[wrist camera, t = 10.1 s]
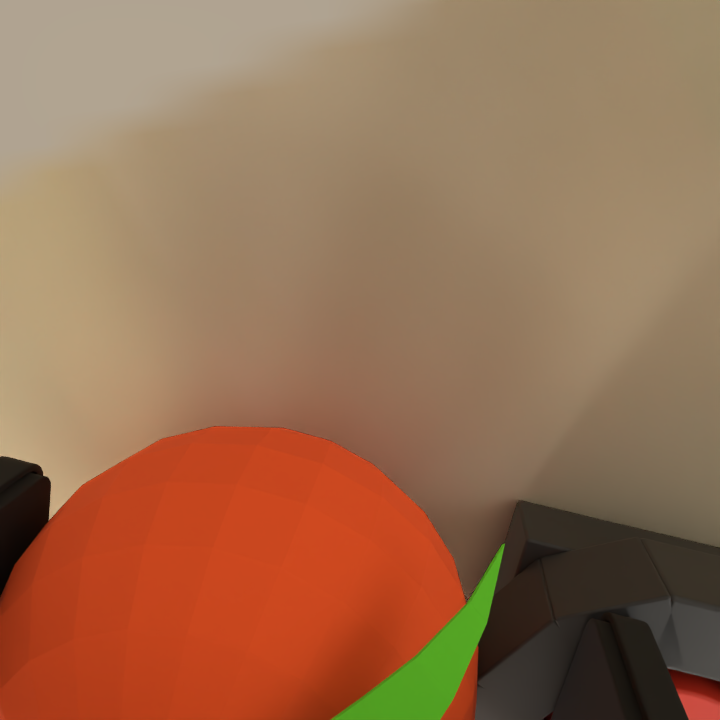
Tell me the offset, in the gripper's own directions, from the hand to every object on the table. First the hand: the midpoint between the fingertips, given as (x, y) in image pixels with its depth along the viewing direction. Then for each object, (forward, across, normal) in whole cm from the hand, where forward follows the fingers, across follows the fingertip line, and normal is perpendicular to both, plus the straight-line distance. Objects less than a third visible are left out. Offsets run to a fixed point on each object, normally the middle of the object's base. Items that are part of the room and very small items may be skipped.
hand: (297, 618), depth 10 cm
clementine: (+3, 0, 0) cm, 3 cm away
